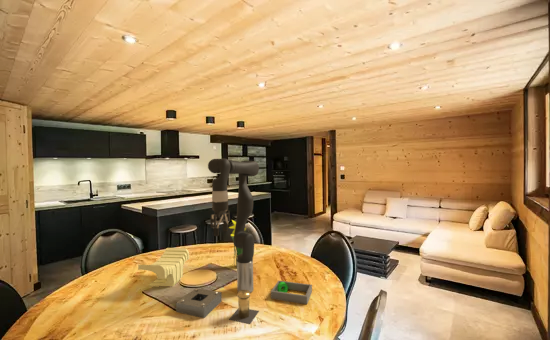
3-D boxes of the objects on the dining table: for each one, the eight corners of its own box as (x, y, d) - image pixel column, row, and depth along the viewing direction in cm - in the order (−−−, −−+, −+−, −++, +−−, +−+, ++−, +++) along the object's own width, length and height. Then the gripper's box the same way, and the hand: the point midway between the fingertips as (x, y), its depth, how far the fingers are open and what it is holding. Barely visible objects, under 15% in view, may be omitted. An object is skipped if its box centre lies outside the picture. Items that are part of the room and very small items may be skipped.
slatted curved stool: (165, 297, 146) (164, 265, 145) (139, 295, 148) (138, 264, 147) (189, 274, 175) (188, 248, 175) (167, 273, 177) (166, 247, 177)
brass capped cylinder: (240, 310, 129) (240, 288, 129) (252, 312, 128) (252, 290, 127) (235, 317, 124) (235, 294, 123) (247, 319, 122) (247, 296, 122)
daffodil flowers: (250, 271, 179) (249, 220, 178) (228, 272, 177) (227, 221, 177) (250, 262, 195) (249, 216, 195) (230, 263, 194) (229, 216, 194)
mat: (239, 308, 133) (238, 307, 133) (259, 311, 129) (259, 310, 129) (228, 320, 122) (228, 319, 122) (249, 324, 119) (249, 323, 119)
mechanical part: (282, 291, 154) (282, 278, 154) (287, 296, 149) (287, 282, 148) (264, 296, 149) (264, 282, 149) (268, 301, 144) (268, 286, 143)
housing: (196, 298, 144) (195, 287, 144) (221, 302, 139) (221, 291, 139) (176, 313, 129) (176, 301, 129) (204, 319, 124) (204, 306, 123)
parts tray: (278, 287, 155) (278, 280, 155) (312, 291, 148) (311, 284, 148) (270, 298, 142) (270, 291, 141) (307, 304, 135) (307, 296, 135)
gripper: (220, 198, 133) (221, 229, 133) (204, 202, 120) (205, 237, 120) (234, 198, 131) (234, 230, 131) (219, 202, 117) (220, 238, 117)
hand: (220, 233), depth 125 cm, fingers open, 8 cm apart
